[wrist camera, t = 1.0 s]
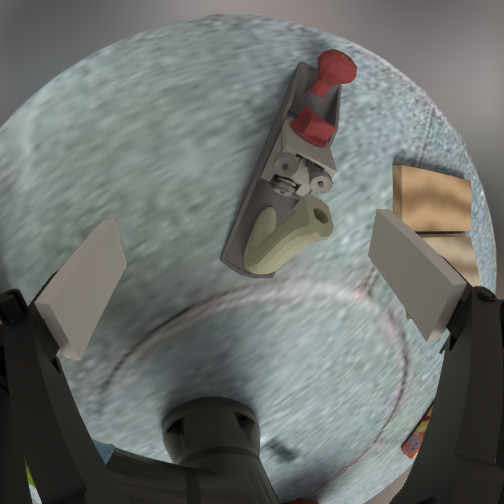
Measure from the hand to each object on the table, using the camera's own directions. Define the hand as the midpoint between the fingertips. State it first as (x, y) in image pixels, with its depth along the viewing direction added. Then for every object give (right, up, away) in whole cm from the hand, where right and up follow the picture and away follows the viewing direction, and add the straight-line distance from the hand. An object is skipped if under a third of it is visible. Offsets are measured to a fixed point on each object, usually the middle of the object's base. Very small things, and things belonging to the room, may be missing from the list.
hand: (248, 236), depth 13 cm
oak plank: (+32, +8, +28) cm, 44 cm away
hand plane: (+5, +11, +21) cm, 24 cm away
